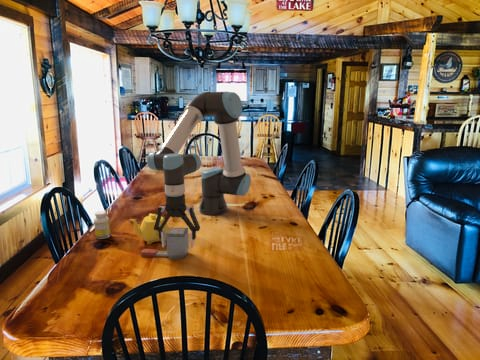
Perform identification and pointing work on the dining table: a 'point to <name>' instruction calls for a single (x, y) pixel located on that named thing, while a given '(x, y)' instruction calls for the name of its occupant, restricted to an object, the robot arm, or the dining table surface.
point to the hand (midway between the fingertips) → (178, 246)
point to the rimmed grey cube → (177, 241)
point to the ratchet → (159, 254)
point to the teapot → (150, 228)
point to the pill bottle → (102, 225)
